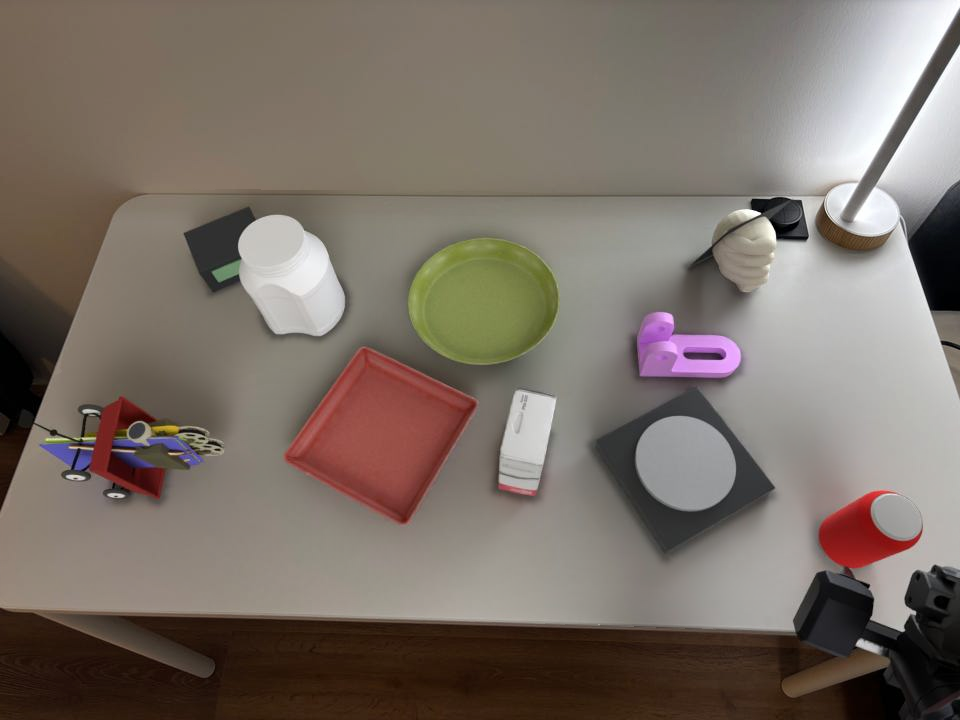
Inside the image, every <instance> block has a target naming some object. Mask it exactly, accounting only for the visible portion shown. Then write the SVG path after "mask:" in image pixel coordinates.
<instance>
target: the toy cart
mask: <svg viewBox="0 0 960 720" xmlns="http://www.w3.org/2000/svg"><path fill="white" fill-rule="evenodd" d="M77 412H78V413H79V414H80V415H82V416H83V418H82V423H81V424H82V425H81V433H80V436H79V437H71V436H67V435H64V434H62V433H60V432H58V430H57V429H55V428H53V429H49V428H47V427H45V426H43V425H40V424H38V423H36V422H34V417H35V416H34V414H33V413H32V412H31V411H29V410H27V409H24V408H22V409H21V412H20V415H19V419H18V422H17V426H19V427H20V428H25V429H30V428H32V426H33V425H35V426H37V427H39V428H41V429H42V430H45V431H47V432H49V435H50V436H52V437H44V438H43V439H44V440H43V441H44V442H42V443H39V444H38V446H39V447H41V448H42V449H43V450H45V451H46V452H48V453H50V455H52V456H54V457H56V458H57V459H58V460H60V461H61V462H63V463H65V464H66V465H67V466H69V467H70V469H66V470H63V471H61V473H60V476H61V478H62V479H63V480H66V481H69V482H70V481H71V482H87V481H90V480H91V479H92V474H91V473H93V474H95V475H97V476H99V477H101V478H104V479H106V480H108V481H110V482H112V485H111V488H106V489H104V490H103V491H102V495H103V496H104V497H105V498H108V499H113V500H125V499H128V498H129V497H131V493H130V491H131V492H132V493H133V492H134V493H135V494H140V495H145V496H150V497H152V498H153V499H156V500H160V499H161V494H162V489H163V483H164V477H165V472H166V469H169V470H182V471H183V470H184V471H190V470H191V466H198V465H199V464H200V463H204V461H205V460H204V459H203V458H202V457H201V456H205V457H216V456H221V455H223V454H224V453H225V451H224V449H223V448H225V445H226V443H224V441H222V440H220V439H217V438H212V437H211V438H210V437H209V436H210V432H209V431H208V430H207V429H206V428H203V427H199V426H194V425H193V426H192V425H184V426H180V425H178V424H176V423H174V422H173V421H172V420H171V419H170V418H168V417H165V418H162V419H158V418H156V417H155V416H153V415H151V414H150V413H149V412H147V411H146V410H144V409H142V408H141V407H139V405H137V404H135V403H133V402H132V401H130V400H129V399H127V398H126V397H125V396H122V395H120V396H118V399H117V400H115V401H113V402H111V403H109V404H107V405H106V406H104V407H103V406H101V405H97V404H92V403H85V404H81V405H79V406H78V407H77ZM88 417H89V418H98V419H99V420H100V421H99V424H98V429H97V431H93V432H86V428H87V427H86V426H87V419H88ZM32 424H33V425H32ZM203 431H204V432H203ZM205 432H206V433H205ZM56 436H58V437H56ZM210 440H211V441H210ZM88 471H89V472H88ZM90 472H91V473H90ZM116 485H119V486H121V487H120V488H117V487H116ZM126 489H127V490H126Z"/></svg>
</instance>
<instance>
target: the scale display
mask: <svg viewBox="0 0 960 720" xmlns="http://www.w3.org/2000/svg"><path fill="white" fill-rule="evenodd" d="M256 220H257V219H256V217H255V215H254V213H253V211H252V209H251V207H250V205H249V206H246V207H244V208H241V209H239V210H236V211H234V212H231V213H228V214H227V215H224V216H222V217H218V218H216V219H214V220H211V221H209V222H207V223H205V224H202V225H199V226H197V227H194V228H192V229H190V230H187V231H184V232H183V234H182V235H183V236H184V239H185V241H186V244H187V246H188V249H189V251H190V254H191V256H192V259H193V261H194V264H195V266H196V269H197V272H198V274H199V276H200V277H201V278H202V279H203V280H204V282H205V284H206V285H207V286H208V288H209V289H210V290H211V292H212V293H215V292H218V291H221V290H223V289H225V288H227V287H229V286H231V285H234V284H236V283H238V282H241V281H240V276H239V267H240V263H241V260H242V258H241V256H240V253H239V250H238V242H239V239H240V236H241V234H242V233H243V231H244V230H245V229H246V228H247V227H248V226H249V225H250V224H251V223H253V222H254V221H256Z"/></svg>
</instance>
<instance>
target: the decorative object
mask: <svg viewBox="0 0 960 720" xmlns="http://www.w3.org/2000/svg"><path fill="white" fill-rule="evenodd" d="M793 200H794V198H792V199H789V200H787V201H786V202H783V203H781V204H779V205H777V206H775V207H773V208H771V209H769V210H767V211H764V212H762V213H761V212H758V211H757V210H752V209H739V210H734V211H732V212H730V213H728V214H727V215H726V216H724V217H723V218H722V219H721V220H720V221H719V223H718V224H717V225H716V227H715V229H714V231H713V233H712V238H711V246H709V248H707V249H706V250H705V251H704V253H702V254H701V255H700V256H699V257H698V258H696V259H695V261H693V263H691V264H690V265H689V267H692V266H694V265H696V264H698V263H700V262H703V261H704V260H706V259H708V258H711V257H712V256H713V258H714V260H715V262H716V263H717V265H718V270H719V272H720V273H721V274H722V276H723V277H725V278H726V279H727V280H729V281H731V282H733V283H735V285H736V287H737V288H738V290H739V291H740V292H742V293H750V292H753V291H755V290H758V289H760V288H761V286H762V285H763V286H764V284H767V282H768V281H769V277H770V276H769V273H770V271H771V265H770V264H772V263H773V262H774V260H775V252H776V248H777V236H776V230H775V229H774V227H773V225H772V223H771V221H770V219H772V218H773V217H774V216H775V215H776V214H777V213H779V212H780V211H781V210H782V209H783V208H784V207H786V206H787V205H788V204H790V202H792V201H793Z"/></svg>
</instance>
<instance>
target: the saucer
mask: <svg viewBox="0 0 960 720" xmlns="http://www.w3.org/2000/svg"><path fill="white" fill-rule="evenodd" d="M560 303H561V297H560V289H559V284H558V281H557V279H556V277H555V274H554V273H553V271H552V270H551V268H550V266H549V265H548V264H547V263H546V262H545V261H544V260H543V259H542V257H540V256H539V255H538V254H537V253H535V252H534V251H532V250H530V249H529V248H527V247H526V246H524V245H521V244H520V243H516V242H513V241H510V240H506V239H502V238H494V237H493V238H492V237H479V238H472V239H465V240H462V241H458V242H454V243H453V244H450V245H448V246H446V247H444V248H442V249H440V250H439V251H437V252H436V253H434V254H433V255H431V256H430V257H429V258H427V260H426V261H425V262H423V264H422V265H421V266H420V268H419V269H418V271H417V273H416V274H415V275H414V278H413V280H412V282H411V284H410V287H409V291H408V298H407V311H408V315H409V319H410V322H411V325H412V327H413V329H414V331H415V332H416V334H417V335H418V336H419V338H420V339H421V340H422V341H423V343H424V344H426V345H427V346H428V347H429V348H430V349H431V350H432V351H434V352H436V353H438V354H439V355H441V356H442V357H444V358H447V359H449V360H452V361H454V362H457V363H461V364H467V365H474V366H490V365H497V364H501V363H507V362H510V361H513V360H515V359H517V358H520V357H522V356H524V355H526V354H527V353H529V352H530V351H532V350H533V349H534V348H536V347H537V346H538V345H540V343H541V342H542V341H544V340H545V338H546V337H547V336H548V335H549V334H550V332H551V330H552V329H553V327H554V325H555V323H556V321H557V318H558V315H559V311H560Z"/></svg>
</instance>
